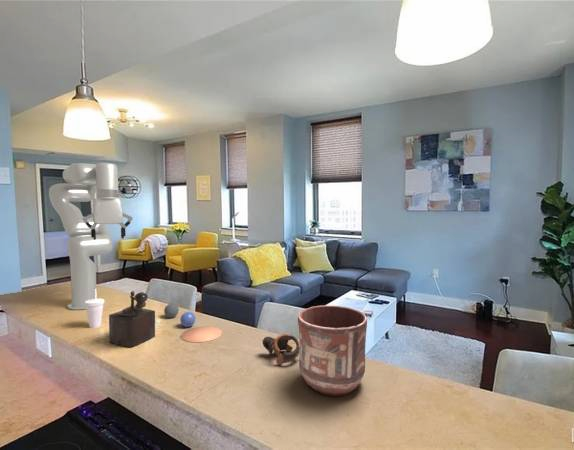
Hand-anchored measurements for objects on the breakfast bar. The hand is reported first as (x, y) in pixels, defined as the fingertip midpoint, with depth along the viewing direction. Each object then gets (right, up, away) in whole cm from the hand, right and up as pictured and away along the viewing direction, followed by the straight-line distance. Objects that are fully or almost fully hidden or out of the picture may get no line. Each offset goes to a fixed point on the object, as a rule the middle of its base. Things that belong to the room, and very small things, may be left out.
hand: (108, 238), depth 128 cm
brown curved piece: (+68, -35, -30) cm, 82 cm away
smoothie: (-2, -33, -6) cm, 33 cm away
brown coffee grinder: (+20, -34, -19) cm, 43 cm away
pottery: (+81, -36, -44) cm, 99 cm away
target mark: (+40, -33, -13) cm, 53 cm away
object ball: (+33, -30, -6) cm, 45 cm away
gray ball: (+23, -29, +4) cm, 38 cm away
